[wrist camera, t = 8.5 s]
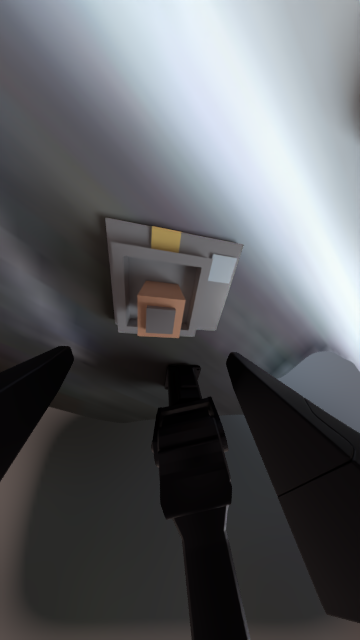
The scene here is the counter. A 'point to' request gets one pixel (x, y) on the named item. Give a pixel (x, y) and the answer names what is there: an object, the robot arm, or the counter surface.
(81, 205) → the counter surface
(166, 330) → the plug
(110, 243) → the dock
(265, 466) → the robot arm
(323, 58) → the counter surface
